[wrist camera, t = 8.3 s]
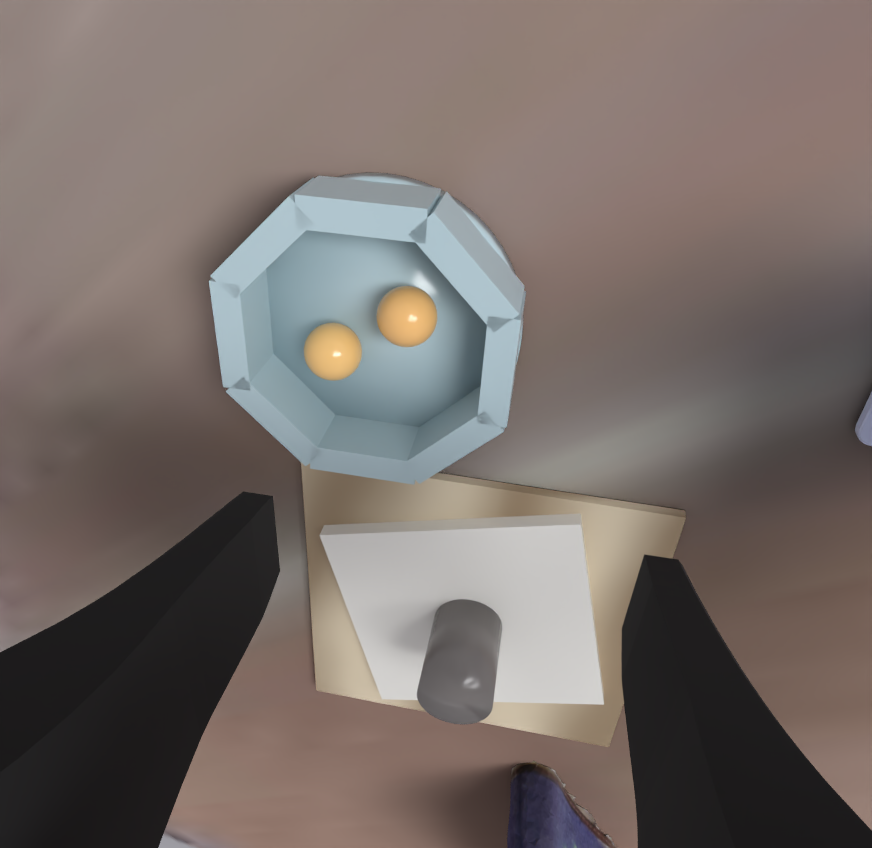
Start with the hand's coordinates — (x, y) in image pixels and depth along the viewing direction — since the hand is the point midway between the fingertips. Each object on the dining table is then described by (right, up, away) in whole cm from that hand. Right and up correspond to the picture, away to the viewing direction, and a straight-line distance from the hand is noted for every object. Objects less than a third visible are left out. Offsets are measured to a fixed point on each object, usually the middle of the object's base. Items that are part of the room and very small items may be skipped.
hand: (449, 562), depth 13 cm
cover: (+1, -5, +15) cm, 16 cm away
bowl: (-2, +6, +9) cm, 11 cm away
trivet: (+1, -5, +16) cm, 17 cm away
